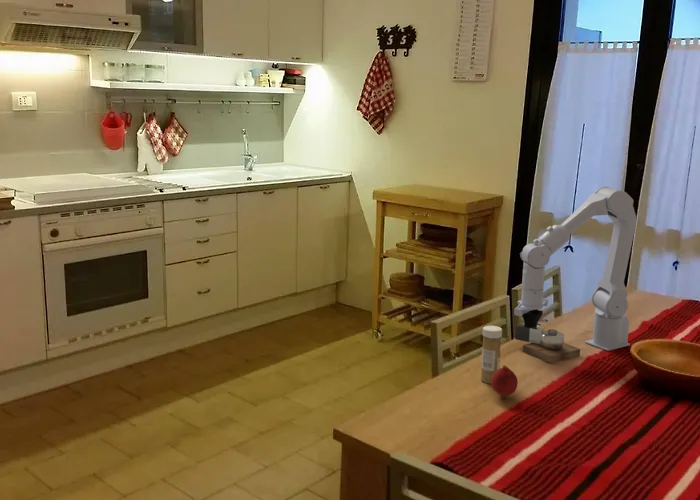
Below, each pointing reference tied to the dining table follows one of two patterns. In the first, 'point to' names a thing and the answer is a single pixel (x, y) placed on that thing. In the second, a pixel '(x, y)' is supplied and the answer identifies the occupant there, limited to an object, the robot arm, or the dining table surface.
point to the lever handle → (540, 336)
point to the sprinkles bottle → (490, 352)
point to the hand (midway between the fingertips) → (529, 335)
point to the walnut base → (551, 352)
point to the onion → (504, 381)
